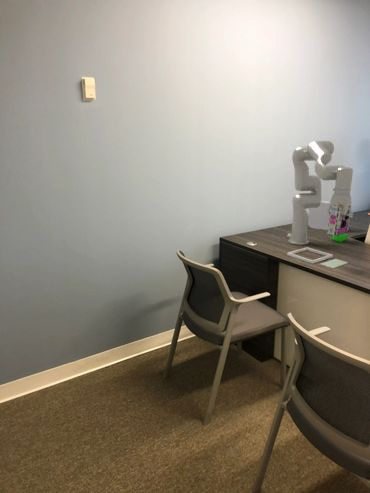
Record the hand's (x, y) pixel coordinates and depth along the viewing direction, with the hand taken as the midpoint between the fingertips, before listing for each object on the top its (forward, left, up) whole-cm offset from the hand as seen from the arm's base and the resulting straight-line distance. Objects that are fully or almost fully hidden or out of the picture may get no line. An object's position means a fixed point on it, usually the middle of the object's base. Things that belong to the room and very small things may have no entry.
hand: (338, 225), depth 200 cm
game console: (-47, +60, -22) cm, 79 cm away
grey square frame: (-16, 0, -21) cm, 27 cm away
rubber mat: (0, 0, -21) cm, 21 cm away
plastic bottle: (-25, +41, -22) cm, 52 cm away
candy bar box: (0, 0, -5) cm, 5 cm away
